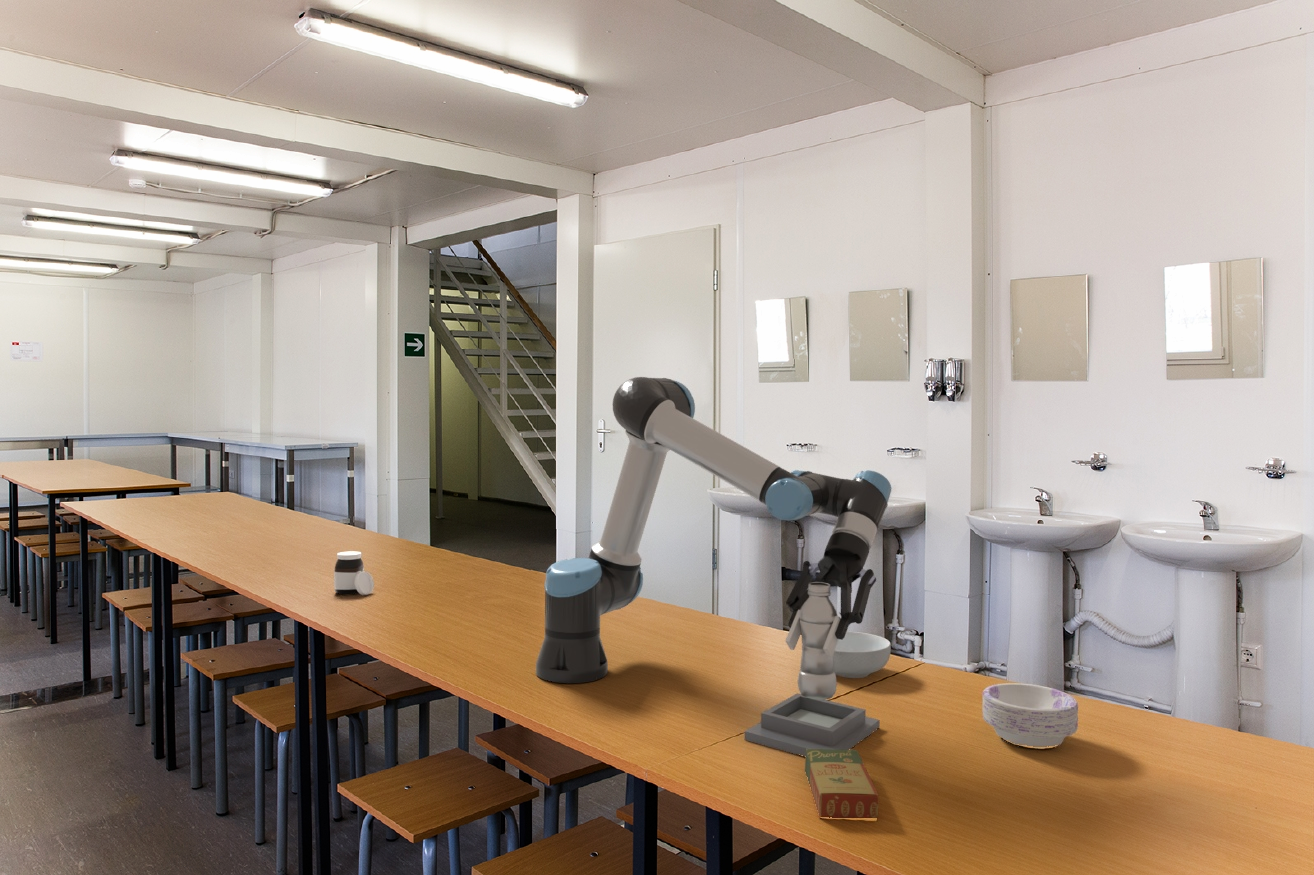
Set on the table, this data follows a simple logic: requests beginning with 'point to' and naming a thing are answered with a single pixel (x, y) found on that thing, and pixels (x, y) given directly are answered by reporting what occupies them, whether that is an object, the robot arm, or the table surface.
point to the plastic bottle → (816, 644)
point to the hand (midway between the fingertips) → (808, 649)
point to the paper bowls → (1030, 713)
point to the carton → (840, 784)
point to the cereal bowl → (860, 654)
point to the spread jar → (351, 574)
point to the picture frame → (811, 725)
